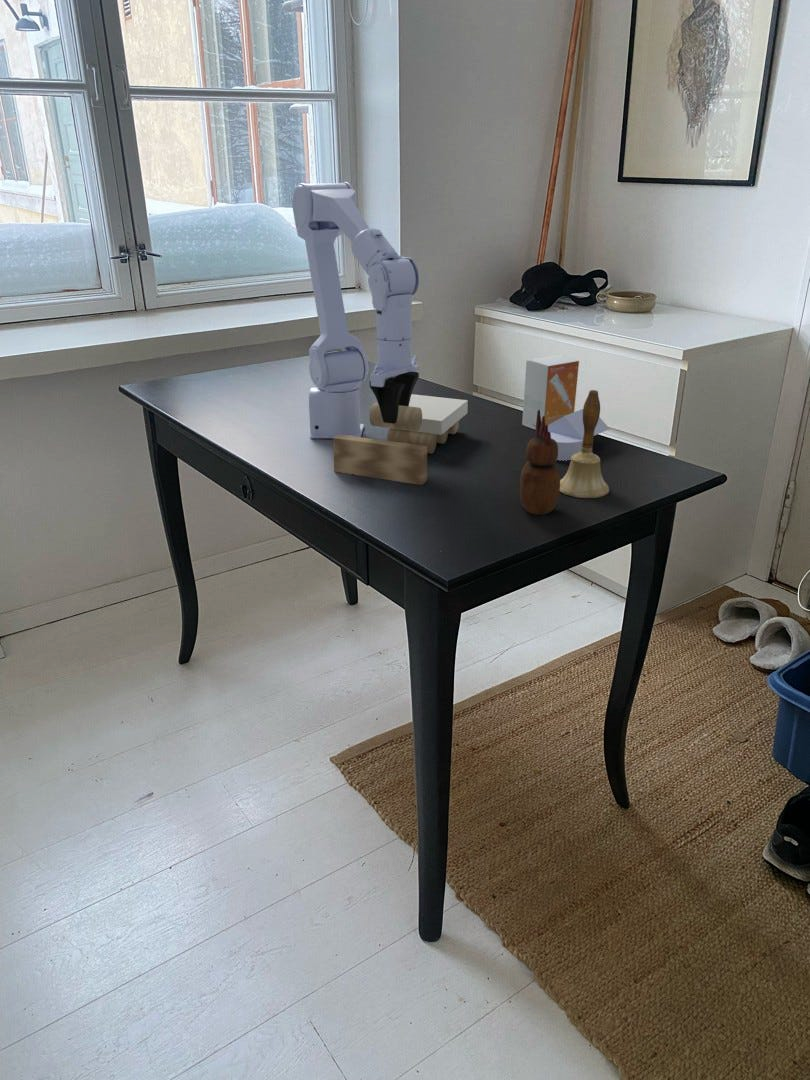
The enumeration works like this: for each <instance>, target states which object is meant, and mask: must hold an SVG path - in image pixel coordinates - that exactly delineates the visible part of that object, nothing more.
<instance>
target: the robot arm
mask: <svg viewBox="0 0 810 1080" xmlns="http://www.w3.org/2000/svg"><path fill="white" fill-rule="evenodd" d="M291 204H292V212H293V218H294V219H293V220H294V224H295V229H296V234H297V237H299V238H301V239H302V240H304V243H305V248H306V255H307V261H308V267H309V271H310V272H309V273H310V278H311V284H312V290H313V295H314V302H315V308H316V314H317V319H318V326H319V332H320V335H319V337H318V338H317V339H316V340H315V341H314V342H313V344H311V346H310V348H309V349H308V354H309V363H308V364H309V367H308V369H309V376H310V379H311V381H312V383H313V385H315V386H313V387H310V389H309V393H308V410H309V412H308V413H309V414H308V415H309V428H310V435H309V438H310V439H333V437H335V436H336V435H338V434H340V435H347V436H355V437H362V434H363V430H364V427H365V425H364V424H363V423H361V419H360V418H361V416H360V413H361V412H360V388H362V387H363V383H364V382H365V381H366V379H367V377H368V375H369V361H368V358H367V356H366V353H365V351H364V347H363V344H362V341H361V340H360V339H359V338H358V337H356V336H355V335H353V334H352V333H350V332H349V330H348V325H347V324H348V323H347V318H346V312H345V310H346V309H345V305H344V300H343V299H344V298H343V293H342V292H343V291H342V288H341V281H340V275H339V269H338V262H337V256H336V250H335V242H336V239H337V238H338V237H340V236H341V235H343V234H344V235H345V236H346V237H347V239H349V240H350V241H351V243H352V244H351V252H352V256H353V257H354V258H355V259H356V261H357V263H359V264H360V267H361V268H362V269H363V270H364V271H365V273H366V275H368V277H367V282H368V288H369V291H370V294H371V299H372V302H371V304H372V307H373V309H375V310H376V311H375V318H376V319H375V321H376V324H375V325H376V326H375V327H376V363H375V366H374V370H373V372H371V374H370V380H369V388H370V389H371V392H372V393H373V394H374V396H375V398H376V402H377V403H378V404H379V408H380V411H381V415H382V419H383V422H384V423H392V424H395V423H396V421H397V417H398V407H399V405H400V406H409V402H410V398H411V394H413V391H414V389H415V386H416V383H417V381H418V380H419V377H420V373H419V372H418V370H419V367H420V366H419V365H418V363H417V359H418V358H417V355H413V308H412V307H413V304H412V303H413V296H414V295H416V293H418V289H419V286H420V271H419V269H418V266H417V264H416V262H415V261H414V259H413V257H410V256H409V257H407V256H406V257H405V256H404V255H399V254H398V253H397V251H396V250H395V248H394V247H393V246H392V244H391V243H390V242H389V241H388V239H387V238H386V237H385V235H384V234H383V232H382V230H381V229H377V228H370V226H369V225H368V223H367V222H366V220H365V218H364V216H363V215H362V213H361V211H360V210H359V208H358V198H357V191H356V190H354V188H353V186H352V184H351V183H349V182H347V181H343V182H336V183H335V182H330V183H327V182H326V183H325V182H324V183H305V182H300V183H298V184H297V185H296V187H295V189H294V192H293V196H292V200H291ZM333 350H334V351H333ZM335 350H339V351H335ZM340 350H341V351H340ZM328 351H333V352H328ZM326 352H327V353H326Z"/></svg>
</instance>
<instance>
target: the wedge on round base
mask: <svg viewBox="0 0 810 1080" xmlns="http://www.w3.org/2000/svg"><path fill="white" fill-rule="evenodd" d="M608 430H610V428H609V426H608V425H607V424H606V423H605V422H604V420H603V419H602V418H601V417H600V416H599V420H598V423H597V425H596V427H595V430H594V436H597V435H599V434H601V433H604V432H606V431H608ZM548 432H550V433H551V438H552V439H554V440H555V441H556V442H557V444H558V458H557V460H559V461H561V460H562V461H561V462H568V461H567V460H571V458H572V456H573V455H574V454H576V453H579V452H580V451H581V447H582V443H583V436H584V425H583V408H582V409H579V410H577V411H576V410H575V411H574V412H573V413H571V414H568V415H566V416H563V417H562V418H560V419H558V420H556V421H555V422H553V423H551V424H549V425H548ZM557 460H556V461H557ZM564 460H565V461H564Z"/></svg>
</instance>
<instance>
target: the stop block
mask: <svg viewBox="0 0 810 1080" xmlns="http://www.w3.org/2000/svg"><path fill="white" fill-rule="evenodd" d="M332 447H333V448H332V449H333V471H334V472H335V473H339V472H341V474H346V473H347V475H352V474H354V476H360V477H366V478H374V479H380V480H387V481H394V482H400V483H406V484H414V485H420V486H423V485H424V484H426V483H427V481H428V453H427V446H423V445H416V444H408V443H400V442H393V441H387V440H385V439H384V440H383V439H376V438H368V437H362V436H361V437H355V436H347V435H340V434H338V435H336V436H335V437H333V438H332Z"/></svg>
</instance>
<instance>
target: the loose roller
mask: <svg viewBox="0 0 810 1080" xmlns="http://www.w3.org/2000/svg"><path fill="white" fill-rule="evenodd" d="M369 422H370V425H371V426H372V427H379V428H384V427H387V428H386V429H390V428H396V429H404V430H413V431H418V430H419V429H420V427H421V423H422V410H421V408H419V407H410V406H400V405H399V407H398V417H397V421H396V423H395V424H392V423H384V422H383V419H382V415H381V411H380V408H379V404H378V402H374V403H373V404H372V405H371V407H370V410H369Z"/></svg>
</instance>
